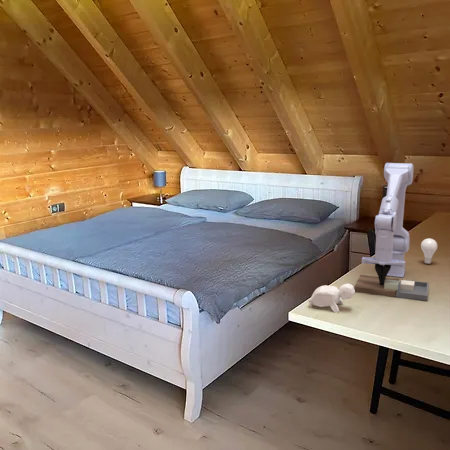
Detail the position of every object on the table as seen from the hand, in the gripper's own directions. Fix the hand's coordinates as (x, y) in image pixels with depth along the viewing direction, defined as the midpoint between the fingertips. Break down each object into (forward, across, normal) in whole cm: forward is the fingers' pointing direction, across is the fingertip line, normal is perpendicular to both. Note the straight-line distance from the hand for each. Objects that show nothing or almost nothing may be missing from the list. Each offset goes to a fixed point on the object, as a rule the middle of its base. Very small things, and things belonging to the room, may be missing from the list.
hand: (382, 284), depth 170 cm
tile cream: (+2, +8, +6) cm, 10 cm away
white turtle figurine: (+3, -14, -20) cm, 25 cm away
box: (+3, +10, +3) cm, 11 cm away
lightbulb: (+3, +14, +40) cm, 42 cm away
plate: (+3, -2, +3) cm, 5 cm away
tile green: (+1, +3, 0) cm, 3 cm away
